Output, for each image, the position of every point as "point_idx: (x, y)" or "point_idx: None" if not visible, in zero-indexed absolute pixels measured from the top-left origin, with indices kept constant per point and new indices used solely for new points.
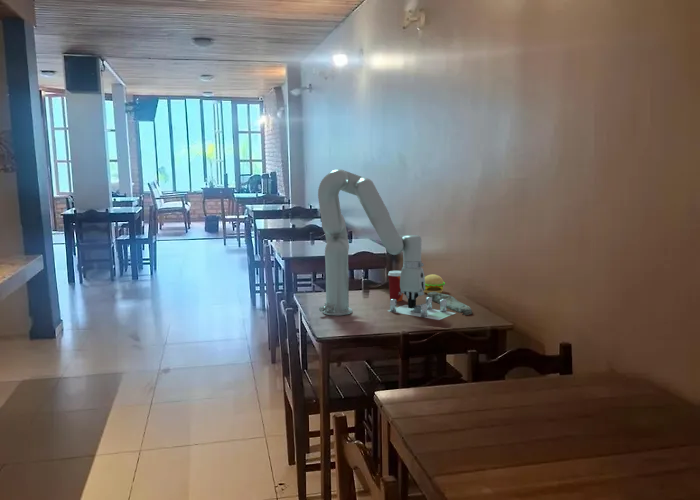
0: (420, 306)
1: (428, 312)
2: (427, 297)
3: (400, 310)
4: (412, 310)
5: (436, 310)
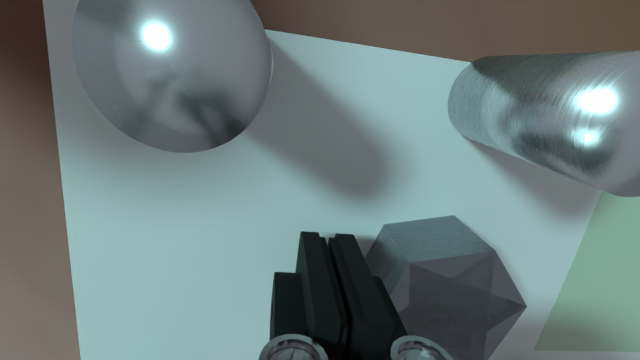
0: (468, 321)
1: (517, 245)
2: (621, 124)
3: (204, 325)
4: None
5: None
